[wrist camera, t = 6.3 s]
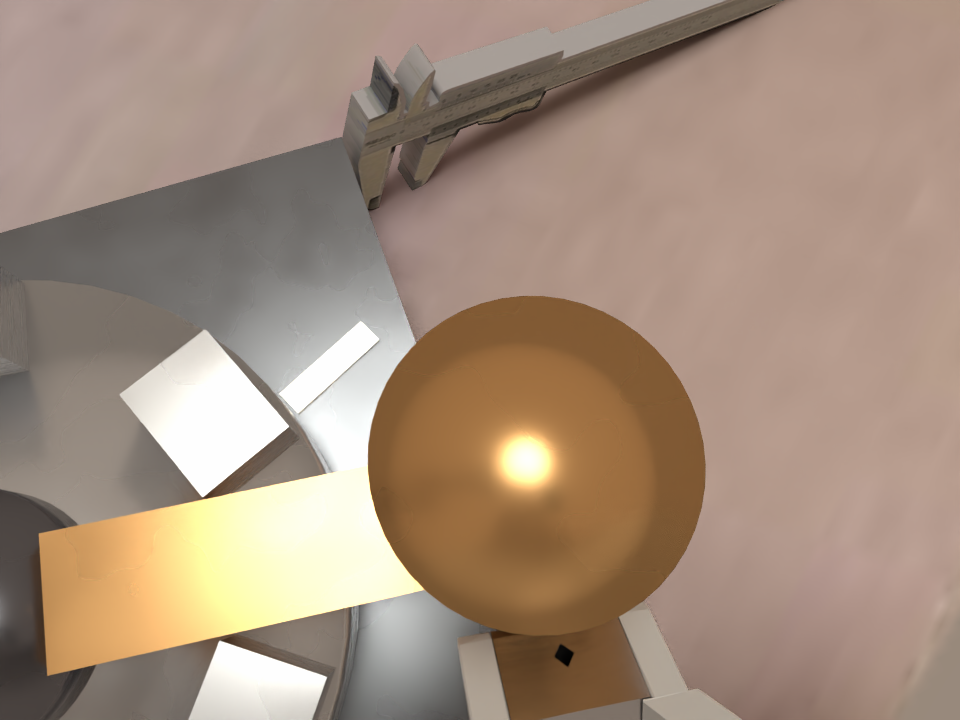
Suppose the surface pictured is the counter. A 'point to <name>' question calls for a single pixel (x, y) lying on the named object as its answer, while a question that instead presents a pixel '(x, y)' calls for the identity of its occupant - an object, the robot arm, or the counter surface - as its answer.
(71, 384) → the rotary crank dial
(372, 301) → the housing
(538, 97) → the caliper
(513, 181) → the counter surface
